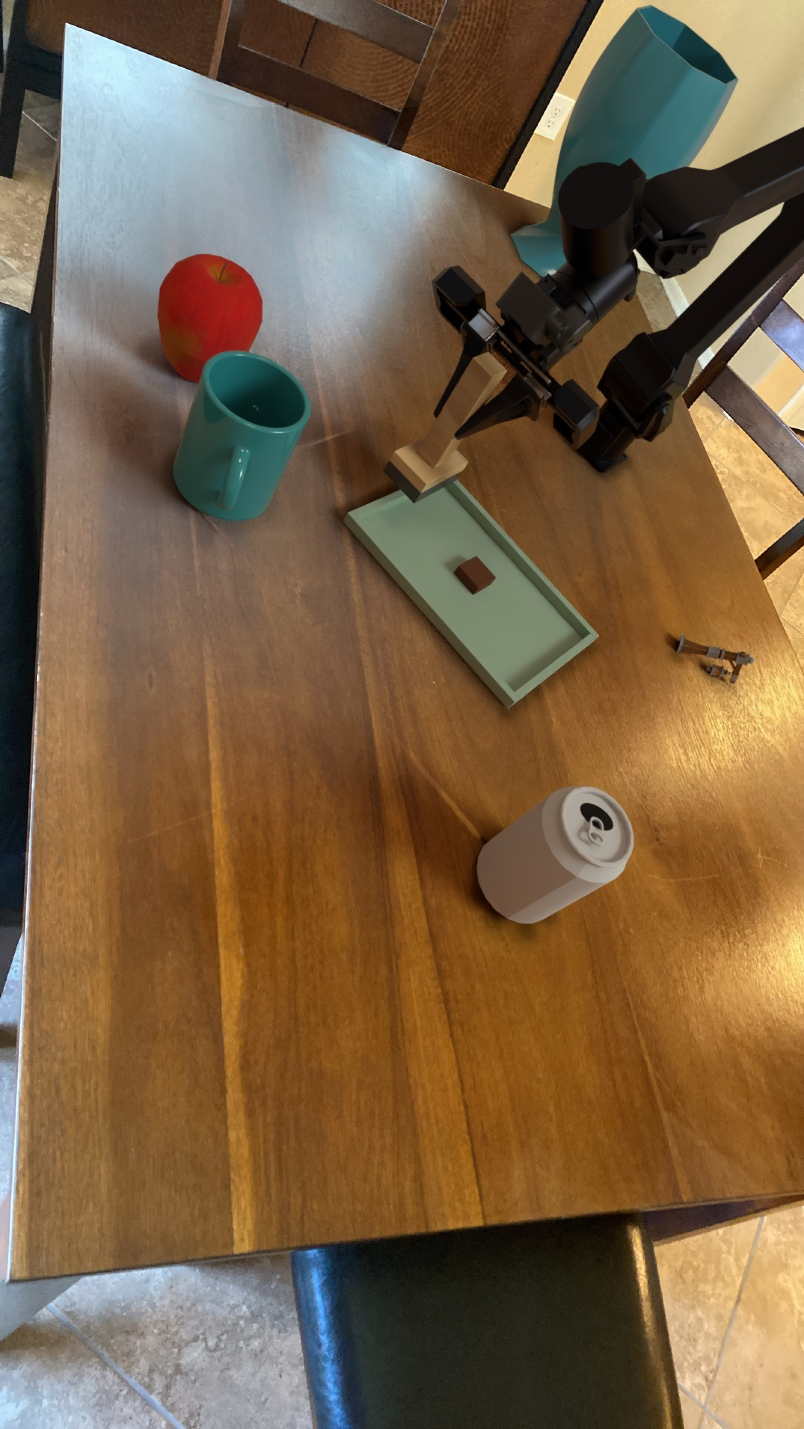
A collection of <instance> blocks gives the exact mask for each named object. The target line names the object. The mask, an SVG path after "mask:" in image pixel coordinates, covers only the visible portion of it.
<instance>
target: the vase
mask: <svg viewBox="0 0 804 1429" xmlns="http://www.w3.org/2000/svg"><path fill="white" fill-rule="evenodd" d="M738 82H739V78H738V76H737V75H736V74H735V72H734V71H733V69H732V68H731V66H730V65H729V63H728V62H727V61H726V59H725V58H724V56H723V54H721V52H719V51H718V50H717V49H715V48H714V47H713V46H712V45H711V44H710V43H709V42H707V40H705V38H703V37H702V36H700V35H699V33H697V32H696V31H695V30H693V29H692V28H691V27H690V26H689V25H688V24H686V23H685V22H683V21H682V20H680V19H678V18H676V17H674V16H672V15H671V14H669V13H667V12H665V11H663V10H661V9H660V8H658V7H656V6H655V5H652V4H648V5H644V6H640V7H639V6H638V7H636V8H635V9H634V10H633V12H632V13H631V14H630V15H629V17H628V18H627V19H626V20H625V21H624V23H622V25H620V27H619V29H618V30H617V31H616V33H615V34H614V35H613V37H612V38H611V39H610V40H609V42H608V43H607V45H606V47H605V48H604V50H602V53H601V54H600V55H599V57H598V58H597V60H596V62H595V64H594V65H593V67H592V69H591V70H590V73H589V74H588V76H587V78H586V80H585V81H584V84H583V85H582V88H581V89H580V92H579V94H578V96H577V98H576V101H575V104H574V106H573V107H572V110H571V114H570V116H569V119H568V122H567V124H566V128H565V131H564V135H563V138H562V142H561V145H560V149H559V154H558V157H557V163H556V168H555V174H554V180H553V186H552V187H553V188H552V195H551V204H550V208H549V212H548V215H547V217H546V218H545V220H544V221H541V222H537V223H534V224H527V225H523V226H522V227H520V228H519V229H517V230H516V231H514V232H512V233H510V237H511V239H512V241H513V244H514V246H515V249H516V250H517V252H518V255H519V258H520V260H521V261H522V262H523V263H524V264H526V265H527V266H529V267H530V268H531V269H532V270H533V271H534V272H536V273H537V275H539V276H540V277H541V278H543V277H544V276H546V275H547V274H548V273H549V274H550V275H551V276H552V275H553V274H554V273H555V272H556V271H557V270H558V269H559V268H560V267H561V266H562V265H563V264H564V263H565V262H566V258H565V256H564V254H563V247H562V237H561V228H560V218H559V208H558V194H559V190H560V188H561V185H562V183H563V182H564V180H565V179H566V177H567V176H568V175H569V174H570V173H571V172H572V171H573V170H575V169H576V168H578V167H579V166H581V165H582V166H585V165H588V164H591V163H597V162H609V163H612V164H616V165H618V166H619V165H621V164H622V163H623V162H625V161H626V160H627V159H629V158H633V159H634V161H635V162H636V163H637V164H638V165H639V166H640V168H641V169H642V170H643V171H644V172H645V173H646V179H650V178H652V177H654V176H656V175H659V174H662V173H665V172H669V171H672V170H675V169H678V168H682V167H691V166H692V164H693V162H694V161H695V160H696V158H697V157H698V155H699V154H700V153H701V151H702V149H703V148H704V147H705V145H706V143H707V142H708V140H709V138H710V137H711V135H712V134H713V132H714V131H715V128H716V127H717V125H718V123H719V121H720V119H721V118H722V115H723V114H724V112H725V110H726V108H727V106H728V104H729V102H730V100H731V98H732V95H733V93H734V91H735V90H736V87H737V84H738Z"/></svg>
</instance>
